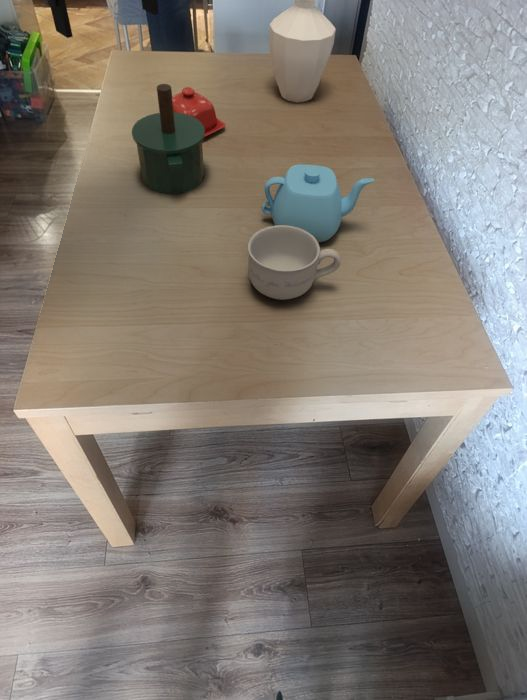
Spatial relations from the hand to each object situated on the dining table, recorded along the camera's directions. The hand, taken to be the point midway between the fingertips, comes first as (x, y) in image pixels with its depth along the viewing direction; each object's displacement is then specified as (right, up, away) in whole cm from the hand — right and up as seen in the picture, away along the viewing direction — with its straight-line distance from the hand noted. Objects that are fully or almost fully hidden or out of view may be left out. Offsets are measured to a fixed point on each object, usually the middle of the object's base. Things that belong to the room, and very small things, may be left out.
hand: (109, 22), depth 68 cm
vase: (+29, +16, +51) cm, 61 cm away
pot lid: (+4, -6, +22) cm, 23 cm away
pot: (+3, -11, +29) cm, 31 cm away
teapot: (+29, -22, +22) cm, 43 cm away
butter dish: (+5, +3, +39) cm, 40 cm away
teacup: (+25, -34, +12) cm, 44 cm away
